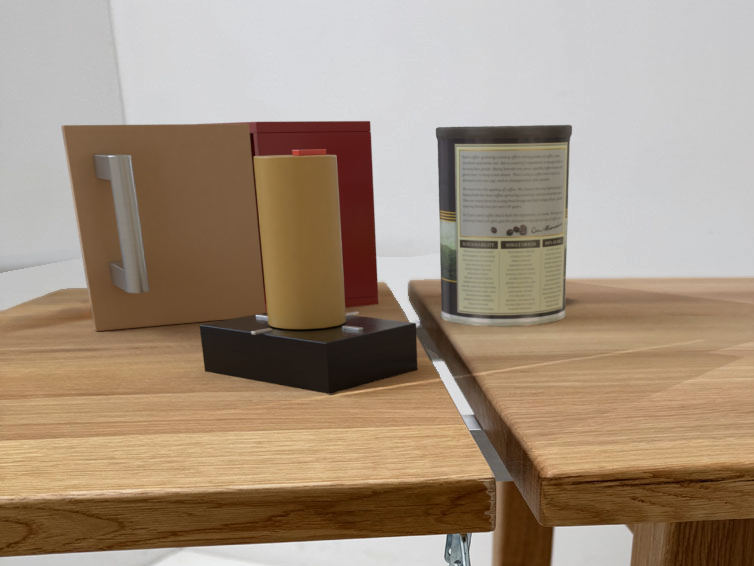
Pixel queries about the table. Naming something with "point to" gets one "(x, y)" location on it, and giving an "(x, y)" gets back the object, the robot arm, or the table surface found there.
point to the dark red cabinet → (353, 185)
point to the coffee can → (503, 223)
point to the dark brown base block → (310, 352)
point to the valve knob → (301, 239)
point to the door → (166, 222)
